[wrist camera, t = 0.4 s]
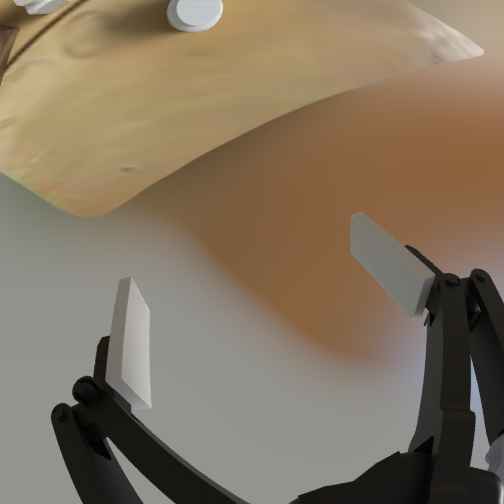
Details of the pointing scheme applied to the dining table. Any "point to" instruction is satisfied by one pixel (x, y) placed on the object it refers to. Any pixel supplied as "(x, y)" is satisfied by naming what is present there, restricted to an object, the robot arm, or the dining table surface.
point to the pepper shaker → (41, 5)
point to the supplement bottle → (193, 14)
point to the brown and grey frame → (6, 45)
